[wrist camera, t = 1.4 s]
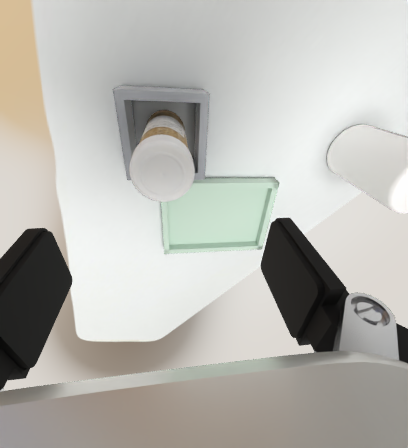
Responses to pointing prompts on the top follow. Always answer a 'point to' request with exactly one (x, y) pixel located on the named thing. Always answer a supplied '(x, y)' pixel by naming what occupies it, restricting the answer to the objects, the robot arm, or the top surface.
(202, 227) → the tray
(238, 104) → the top surface
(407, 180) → the white bottle
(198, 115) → the holder
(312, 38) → the top surface
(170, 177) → the sprinkles bottle
